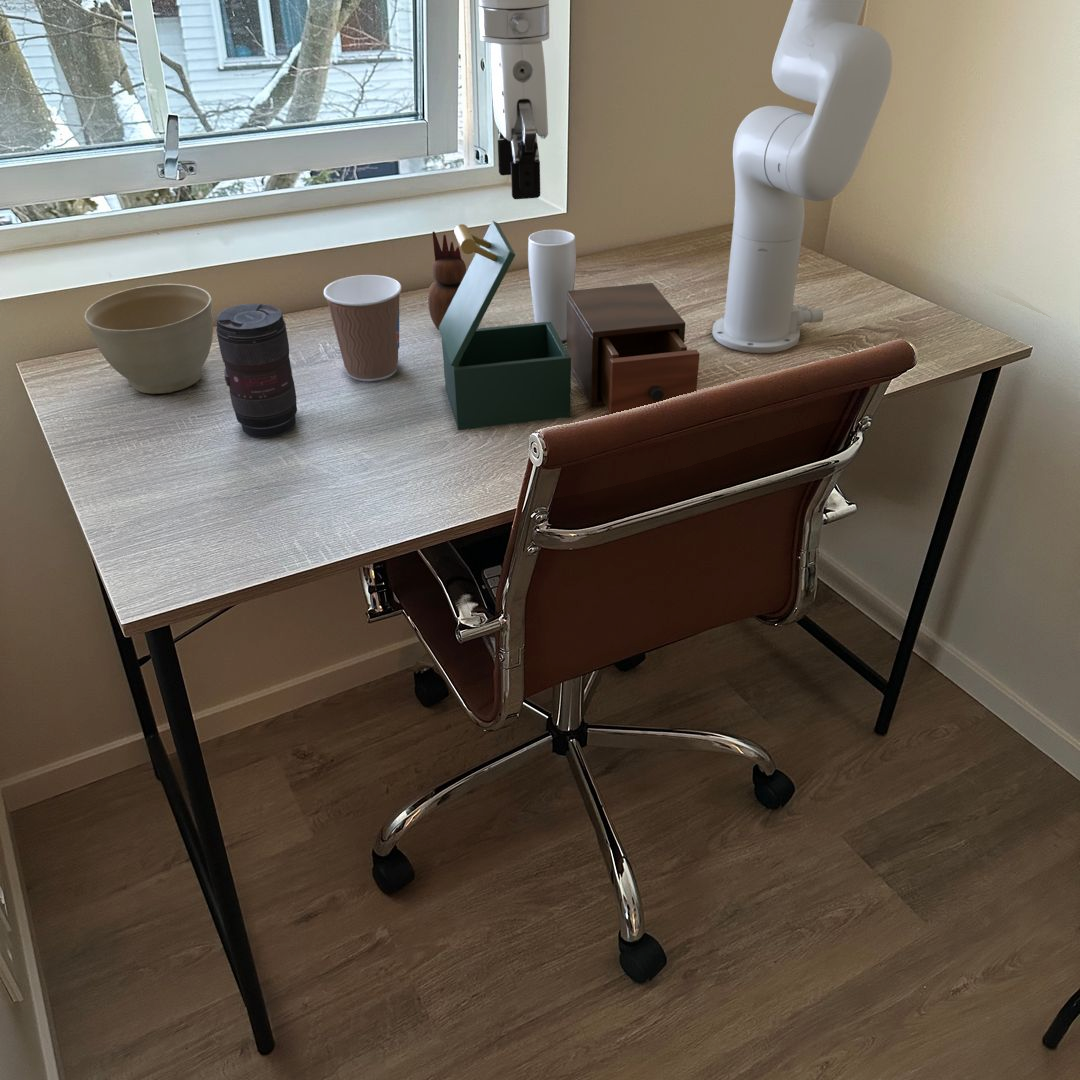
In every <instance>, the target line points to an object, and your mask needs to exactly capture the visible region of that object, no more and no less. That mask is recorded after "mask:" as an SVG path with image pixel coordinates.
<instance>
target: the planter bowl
mask: <svg viewBox="0 0 1080 1080" xmlns="http://www.w3.org/2000/svg"><path fill="white" fill-rule="evenodd" d="M212 309H213V300H212V295H210V293H209V292H208V291H207V290H205V289H204V288H201V287H198V286H194V285H190V284H183V283H182V284H181V283H157V284H149V285H141V286H137V287H133V288H128V289H125V290H121V291H118V292H114V293H112V294H109V295H107V296H105V297H102V298H100V299H98V300H97V301H95V302H93V303H92V304H90V305H89V307H87V308H86V310H85V312H84V321H85V323H86V325H87V327H88V328H89V330H90V333H91V336H92V338H93V340H94V343H95V346H96V347H97V349H98V351H99V352H100V353H101V355H102V356H103V358H104V359H105V360H106V362H108V364H109V365H110V366H111V367H112V368H113V369H114V370H115V371H116V372H117V373H118V374H120V376H122V377H123V378H125V379H126V380H128V382H129V384H130V386H131V387H132V388H133V390H135V391H137V392H140V393H143V394H144V393H145V394H151V395H154V394H167V393H169V394H171V393H173V392H177V391H181V390H184V389H187V388H189V387H191V386H192V385H195V384H196V383H197V382H198V381H199V380H200V379H201V378H202V376H203V366H204V364H205V363H206V361H207V359H208V357H209V355H210V354H209V353H210V351H211V348H212V344H213V338H214V316H213V311H212Z"/></svg>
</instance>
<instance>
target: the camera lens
mask: <svg viewBox="0 0 1080 1080" xmlns="http://www.w3.org/2000/svg"><path fill="white" fill-rule="evenodd" d="M215 320H216V330H215V331H216V336H217V337H216V338H217V341H218V346H219V351H220V355H221V358H222V362H223V364H224V371H223V374H224V381H225V383H226V386H228V387H229V388H228V389H229V390H228V391H229V396H230V402H231V407H232V408H233V411H234V414H235V418H236V421H237V422H238V423H239V424H240V425H241V428H242V432H243V433H244V434H245V435H246V436H249V437H251V438H259V439H269V438H275V437H279V436H282V435H284V434H286V433H288V432H290V431H291V430H292V429H293V428H294V427H295V426H296V422H297V419H296V414H297V411H298V405H297V393H296V386H295V381H294V378H293V371H292V365H291V360H290V343H289V337H288V330H287V325H286V322H285V319H284V316H283V312H282V311H281V310H280V309H279V308H277V307H276V306H273V305H270V304H265V303H245V304H238V305H234V306H231V307H228V308H226V309H224V310H222V311H221V312H219V313H218V314H217V316H216V319H215Z"/></svg>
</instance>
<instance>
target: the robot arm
mask: <svg viewBox="0 0 1080 1080" xmlns="http://www.w3.org/2000/svg"><path fill="white" fill-rule="evenodd" d="M865 2H866V0H793V1H792V3H791V6H790V9H789V12H788V14H787V18H786V20H785V24H784V26H783V29H782V32H781V35H780V38H779V41H778V44H777V47H776V50H775V54H774V56H773V60H772V66H771V78H772V81H773V83H774V84H775V86H776V88H777V89H778V90H779V91H781V92H782V93H783V94H786V95H788V96H789V97H792V98H795V99H798V100H801V101H805V102H807V103H812V104H815V109H814V112H813V115H812V114H810V113H807V112H804V111H800V110H798V109H794V108H789V107H786V106H781V105H766V106H762V107H761V106H760V107H758V108H757V109H756V108H755V110H753V111H751V112H750V113H749V114H747V115H746V116H745V117H744V118H743V119H742V120H741V122H740V124H739V125H738V127H737V130H736V132H735V134H734V138H733V142H732V143H733V144H732V166H733V175H734V176H733V177H734V194H735V195H734V212H733V223H732V224H733V225H732V233H731V243H730V244H731V245H730V252H729V253H730V254H729V265H728V276H727V284H726V285H727V286H726V296H725V307H724V316H722V317H720V318H719V319H717V320H716V321H715V322H714V323H713V326H712V330H711V333H712V337H713V338H714V340H715V341H716V342H718V343H719V345H722V346H724V347H726V348H729V349H731V350H735V351H738V352H744V353H752V354H773V353H779V352H783V351H786V350H789V349H791V348H792V347H794V346H796V345H797V344H798V343H799V340H800V336H801V331H800V328H799V327H800V326H801V327H802V326H803V324H805V323H809V324H810V323H811V324H813V323H820V322H823V320H824V311H823V309H822V308H813V309H808V305H807V304H799V305H794V299H795V292H796V285H797V277H798V271H799V263H800V257H801V256H800V255H801V250H802V249H801V247H802V240H803V234H804V227H805V202H804V200H808V201H811V202H826V201H829V200H831V199H833V198H835V197H837V196H838V195H839V194H840V193H841V192H842V191H843V190H844V189H845V188H846V187H847V185H848V184H849V183H850V181H851V180H852V178H853V176H854V174H855V173H856V170H857V168H858V165H859V163H860V161H861V158H862V156H863V153H864V152H865V148H866V146H867V143H868V142H869V138H870V136H871V133H872V131H873V128H874V125H875V123H876V121H877V119H878V116H879V113H880V110H881V108H882V106H883V103H884V101H885V98H886V96H887V92H888V89H889V86H890V82H891V79H892V72H893V71H892V70H893V56H892V51H891V47H890V44H889V43H888V41H887V39H886V37H884V35H883V34H881V33H880V32H879V31H878V30H876V29H874V28H871V27H869V26H865V25H859V20H860V17H861V14H862V11H863V8H864V5H865ZM478 23H479V24H478V25H479V40H480V41H481V42H485V43H487V44H490V73H491V74H490V77H491V79H490V80H491V95H492V109H493V117H494V118H493V119H494V122H495V125H496V127H497V128H498V129H497V135H498V136H497V137H498V139H497V160H498V161H497V163H498V166H497V167H498V173H499V175H500V176H510V181H511V183H510V184H511V187H510V188H511V197H512V199H513V200H528V199H529V200H530V199H538V198H540V197H541V161H540V152H539V145H538V137H539V138H540V139H541V140H546V138H547V137H548V136H549V121H548V120H549V119H548V104H547V103H548V102H547V101H548V100H547V81H546V80H547V79H546V68H545V67H546V66H545V56H544V47H543V42H544V41H548V40H549V39H550V0H478ZM537 136H538V137H537Z"/></svg>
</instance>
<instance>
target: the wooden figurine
mask: <svg viewBox="0 0 1080 1080" xmlns="http://www.w3.org/2000/svg"><path fill="white" fill-rule="evenodd" d="M432 242H433V252H434V260H433V262H432V276H433V279H434V280H435V281H434V282H432V283H431V284H430V286H429V288H428V294H427V305H428V312H429V316H430V319H431V321H432V323H433V325H434V327H435V328H436V329H437V331H439V326H440V324H441V322H442V320H443V318H444V316H445V314H446V312H447V310H448V308H449V306H450V304H451V302H452V300H453V298H454V296H455V294H456V292H457V290H458V288H459V286H460V284H461V282H462V280H463V278H464V276H465V274H466V272H467V266H466V263H465V261H464V260H463V259H462V255H461V251H460V250H461V249H460V246H456V248H455V246H454V242H453V241H450V246H449V245H448V240H447V235H446V234H443V238H442V247H441V245H440V243H439V240H438V237H437V234H436V231H432Z"/></svg>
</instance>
